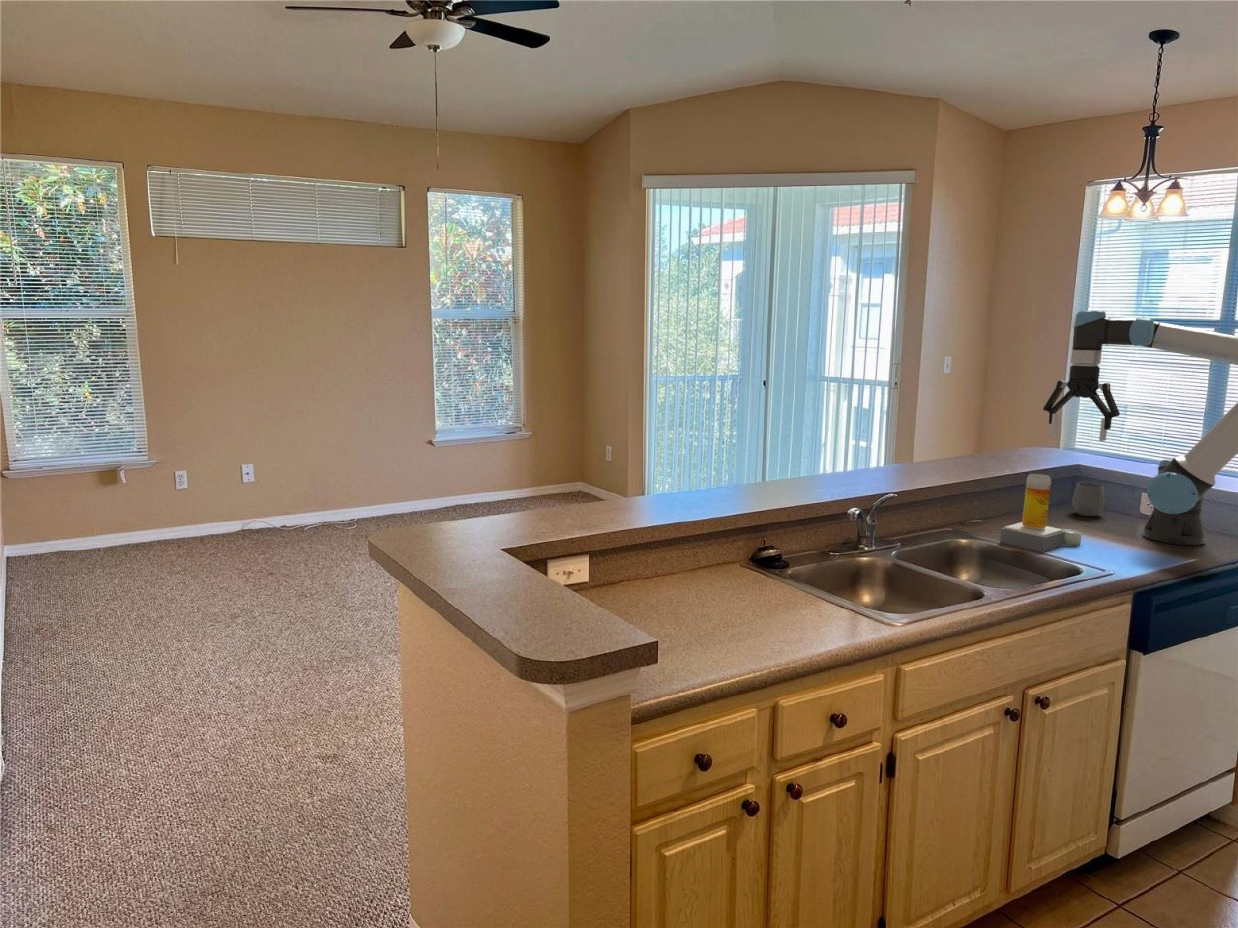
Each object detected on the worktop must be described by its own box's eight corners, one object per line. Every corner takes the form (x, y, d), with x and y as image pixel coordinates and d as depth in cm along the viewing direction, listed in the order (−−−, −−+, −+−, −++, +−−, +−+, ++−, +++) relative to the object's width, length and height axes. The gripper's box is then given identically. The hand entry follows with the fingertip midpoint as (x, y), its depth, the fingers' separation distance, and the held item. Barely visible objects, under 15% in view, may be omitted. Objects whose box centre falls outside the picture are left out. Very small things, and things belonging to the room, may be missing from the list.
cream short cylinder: (1084, 544, 238) (1085, 532, 238) (1074, 547, 235) (1075, 535, 234) (1062, 539, 243) (1064, 527, 242) (1052, 542, 239) (1053, 530, 239)
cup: (1109, 516, 273) (1113, 486, 271) (1092, 519, 268) (1096, 488, 266) (1081, 510, 281) (1084, 480, 279) (1064, 512, 276) (1067, 483, 274)
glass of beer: (1045, 531, 232) (1051, 478, 230) (1021, 528, 235) (1026, 476, 232) (1046, 527, 237) (1052, 475, 235) (1022, 524, 240) (1027, 472, 238)
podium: (1063, 545, 236) (1065, 529, 235) (1042, 552, 229) (1044, 535, 228) (1021, 536, 245) (1023, 520, 245) (1000, 542, 238) (1001, 526, 237)
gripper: (1137, 366, 235) (1129, 441, 239) (1047, 362, 254) (1040, 432, 258) (1127, 367, 231) (1118, 444, 234) (1035, 363, 250) (1028, 434, 253)
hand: (1077, 438), depth 246 cm, fingers open, 13 cm apart
